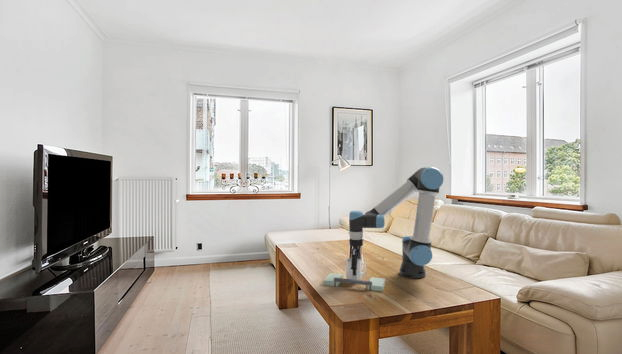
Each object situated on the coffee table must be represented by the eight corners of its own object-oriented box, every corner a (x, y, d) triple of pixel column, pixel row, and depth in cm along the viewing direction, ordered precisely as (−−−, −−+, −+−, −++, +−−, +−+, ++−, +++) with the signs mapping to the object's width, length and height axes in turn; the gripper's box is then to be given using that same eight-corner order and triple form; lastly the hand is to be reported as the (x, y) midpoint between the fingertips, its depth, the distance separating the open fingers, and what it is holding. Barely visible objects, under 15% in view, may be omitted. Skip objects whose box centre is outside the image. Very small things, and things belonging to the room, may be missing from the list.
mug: (369, 279, 181) (369, 260, 180) (349, 281, 178) (349, 262, 178) (363, 275, 189) (363, 256, 189) (344, 276, 186) (343, 258, 186)
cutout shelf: (385, 283, 179) (385, 275, 179) (382, 291, 167) (382, 283, 167) (329, 277, 190) (329, 270, 190) (323, 284, 177) (323, 277, 177)
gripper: (353, 234, 193) (353, 271, 194) (345, 242, 173) (345, 283, 174) (365, 235, 191) (365, 272, 191) (359, 242, 171) (359, 285, 171)
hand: (356, 278), depth 183 cm, fingers closed on mug, 9 cm apart
